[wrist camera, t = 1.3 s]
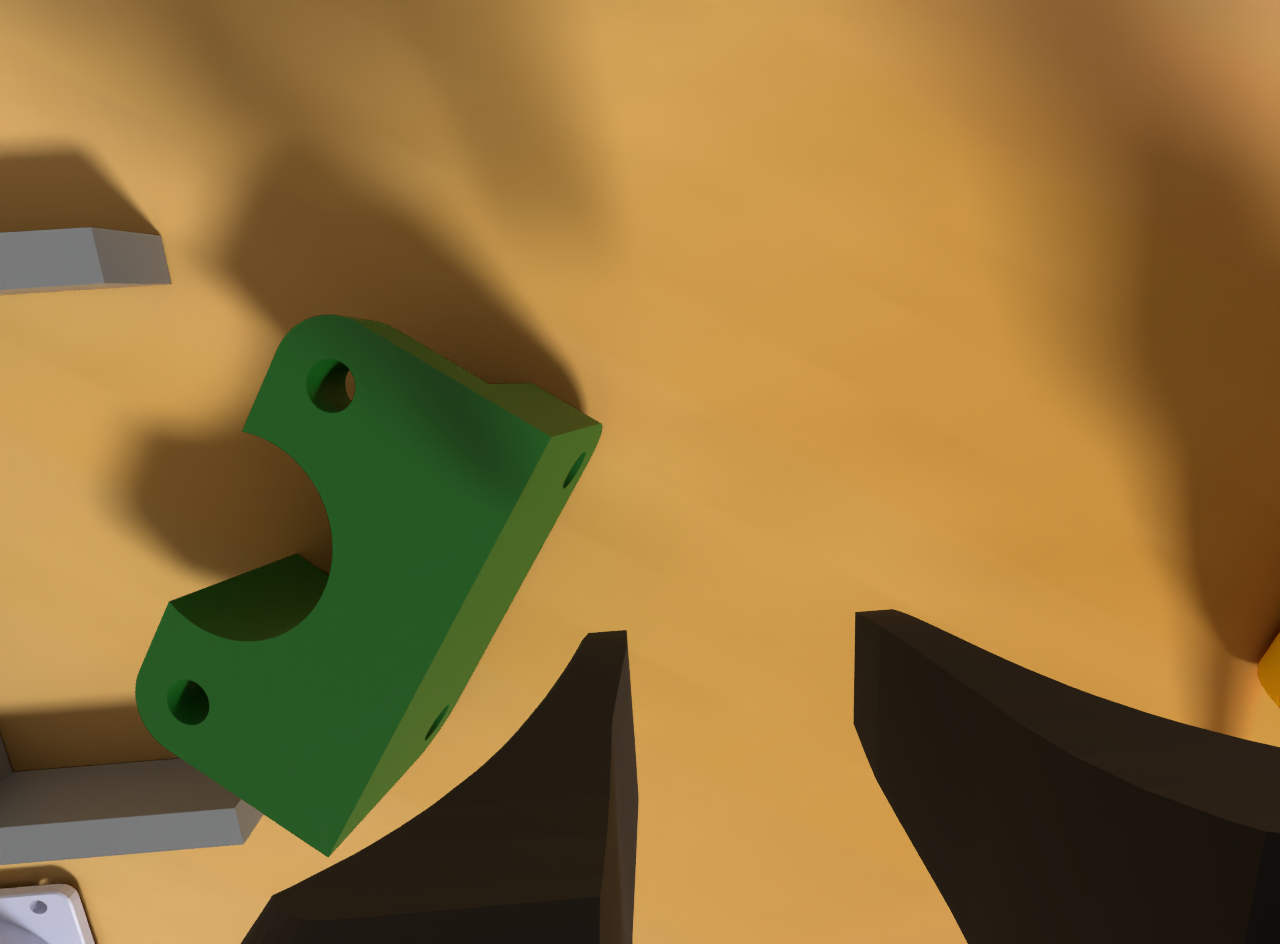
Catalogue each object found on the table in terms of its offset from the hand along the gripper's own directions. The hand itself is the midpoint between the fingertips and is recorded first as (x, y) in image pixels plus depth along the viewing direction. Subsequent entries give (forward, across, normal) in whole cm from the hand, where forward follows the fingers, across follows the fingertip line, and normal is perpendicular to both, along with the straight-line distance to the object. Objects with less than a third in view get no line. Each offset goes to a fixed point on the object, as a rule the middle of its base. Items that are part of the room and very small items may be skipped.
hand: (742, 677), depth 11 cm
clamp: (+10, +8, 0) cm, 13 cm away
